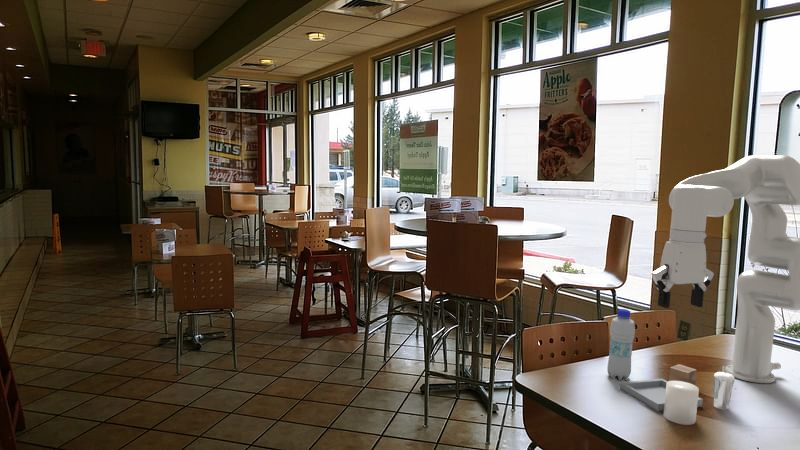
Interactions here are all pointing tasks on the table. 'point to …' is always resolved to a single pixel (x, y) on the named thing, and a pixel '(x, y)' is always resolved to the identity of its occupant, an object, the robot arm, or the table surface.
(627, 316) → the bottle
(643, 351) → the table surface
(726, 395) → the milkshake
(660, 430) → the table surface
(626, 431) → the table surface
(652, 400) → the tray
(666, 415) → the white squat cylinder
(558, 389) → the table surface
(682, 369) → the walnut block
